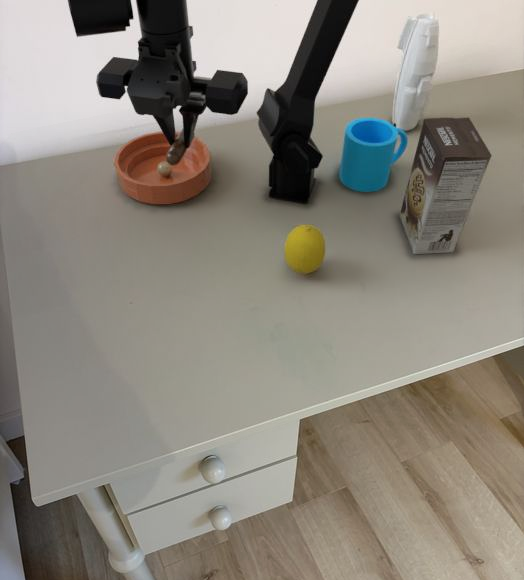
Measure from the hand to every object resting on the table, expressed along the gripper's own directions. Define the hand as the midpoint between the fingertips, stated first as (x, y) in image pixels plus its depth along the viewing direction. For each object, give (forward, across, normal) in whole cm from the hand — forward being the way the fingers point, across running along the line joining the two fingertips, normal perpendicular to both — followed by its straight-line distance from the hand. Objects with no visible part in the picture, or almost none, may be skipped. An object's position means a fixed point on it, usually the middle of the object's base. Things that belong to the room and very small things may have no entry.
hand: (180, 145), depth 75 cm
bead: (+9, -6, +7) cm, 13 cm away
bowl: (+11, -6, +7) cm, 14 cm away
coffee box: (+11, +37, +3) cm, 38 cm away
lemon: (+11, +20, -9) cm, 25 cm away
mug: (+11, +27, +17) cm, 34 cm away
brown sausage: (+1, 0, 0) cm, 1 cm away
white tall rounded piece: (+11, +30, +34) cm, 47 cm away
